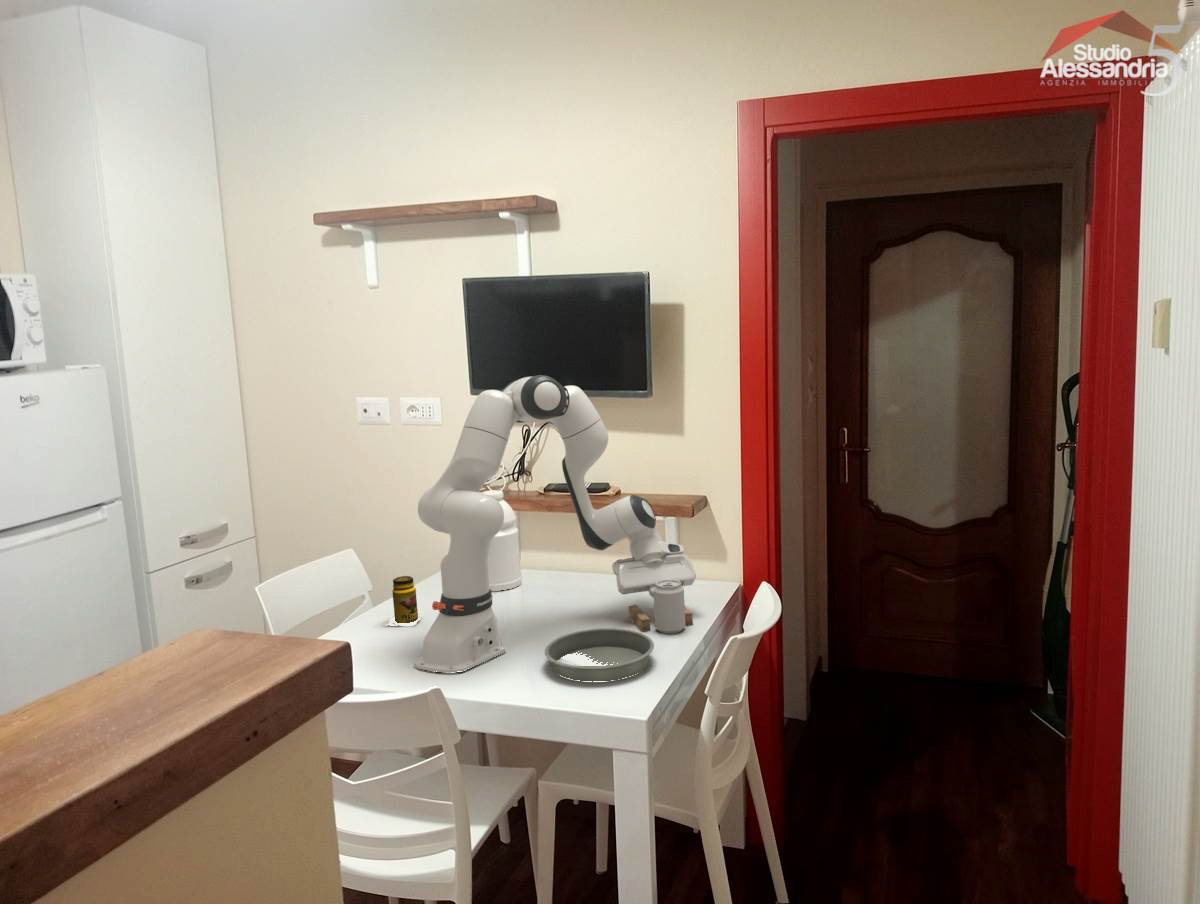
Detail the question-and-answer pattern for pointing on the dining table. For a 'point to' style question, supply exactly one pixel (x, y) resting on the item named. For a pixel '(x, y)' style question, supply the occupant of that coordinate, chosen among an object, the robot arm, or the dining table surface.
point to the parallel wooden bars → (644, 621)
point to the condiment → (404, 600)
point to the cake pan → (601, 653)
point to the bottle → (504, 550)
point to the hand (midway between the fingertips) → (663, 603)
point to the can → (669, 606)
